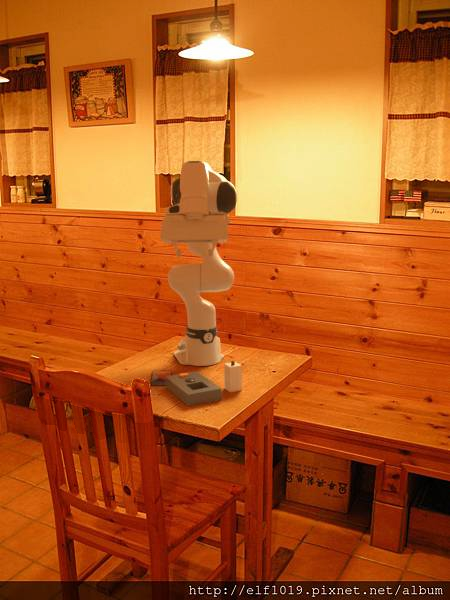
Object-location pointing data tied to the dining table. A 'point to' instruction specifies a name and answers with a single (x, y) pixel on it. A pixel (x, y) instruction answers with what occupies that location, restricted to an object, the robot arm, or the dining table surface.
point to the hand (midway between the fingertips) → (194, 256)
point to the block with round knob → (233, 376)
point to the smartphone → (159, 377)
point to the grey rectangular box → (193, 388)
